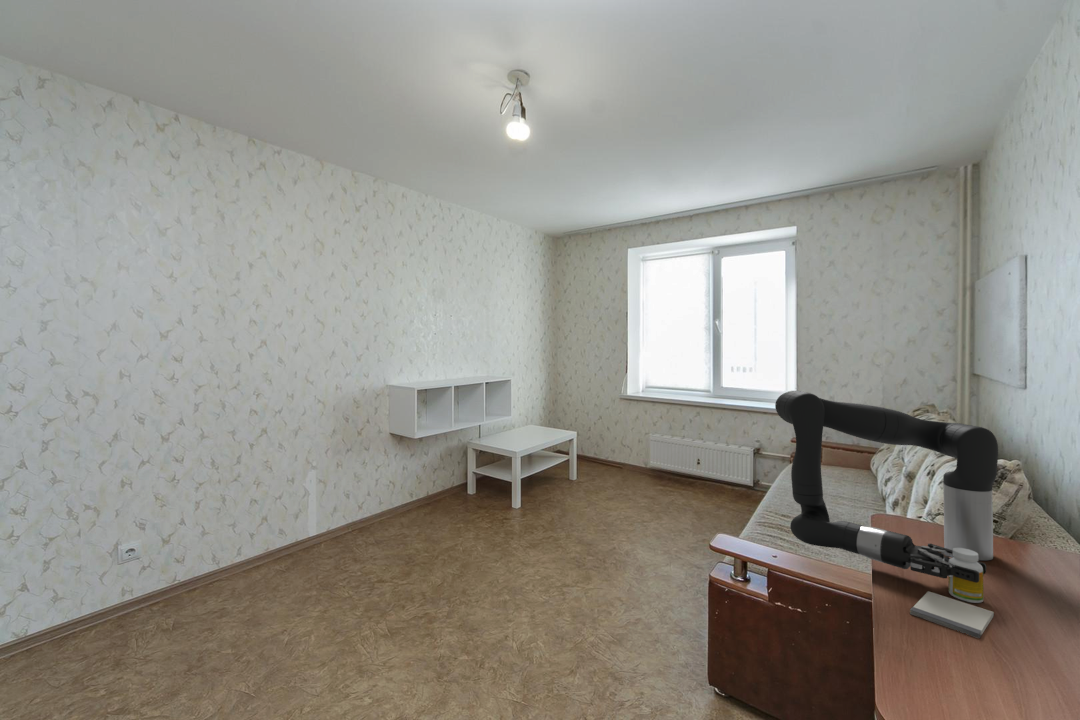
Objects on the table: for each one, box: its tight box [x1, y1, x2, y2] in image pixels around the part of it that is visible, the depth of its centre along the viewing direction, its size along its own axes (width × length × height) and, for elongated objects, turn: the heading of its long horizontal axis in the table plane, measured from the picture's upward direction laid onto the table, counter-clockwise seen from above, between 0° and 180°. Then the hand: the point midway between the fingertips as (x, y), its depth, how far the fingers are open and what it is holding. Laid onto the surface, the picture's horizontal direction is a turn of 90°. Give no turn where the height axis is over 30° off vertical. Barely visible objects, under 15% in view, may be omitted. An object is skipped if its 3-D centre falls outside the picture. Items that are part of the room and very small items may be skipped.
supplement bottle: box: [948, 548, 984, 604], centre depth 96 cm, size 5×5×10 cm
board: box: [909, 590, 995, 639], centre depth 89 cm, size 12×10×1 cm
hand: (982, 573), depth 94 cm, fingers closed on supplement bottle, 5 cm apart
